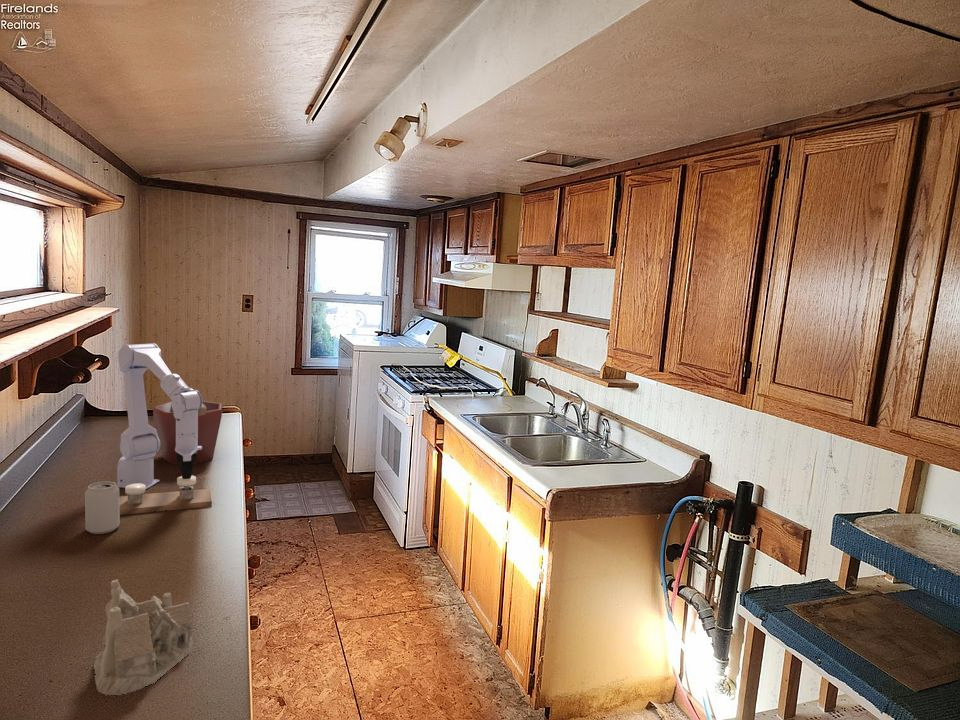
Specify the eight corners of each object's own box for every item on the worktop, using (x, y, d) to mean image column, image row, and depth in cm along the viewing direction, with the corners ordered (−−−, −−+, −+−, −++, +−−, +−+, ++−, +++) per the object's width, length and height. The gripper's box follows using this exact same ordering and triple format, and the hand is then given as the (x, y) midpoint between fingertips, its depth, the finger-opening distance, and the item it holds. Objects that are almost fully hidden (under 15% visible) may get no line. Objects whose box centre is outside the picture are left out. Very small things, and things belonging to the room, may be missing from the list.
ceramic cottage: (87, 702, 96) (93, 609, 95) (97, 647, 111) (103, 567, 110) (196, 684, 103) (203, 598, 102) (192, 635, 118) (198, 559, 117)
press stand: (106, 516, 166) (106, 501, 165) (110, 501, 175) (110, 488, 175) (211, 506, 177) (211, 492, 177) (209, 493, 187) (209, 480, 186)
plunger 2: (176, 495, 175) (176, 481, 175) (176, 489, 180) (176, 476, 179) (196, 493, 178) (196, 480, 177) (195, 488, 182) (195, 474, 182)
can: (126, 527, 160) (126, 482, 158) (100, 537, 153) (99, 491, 151) (105, 521, 162) (104, 477, 161) (78, 531, 155) (77, 486, 154)
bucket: (220, 466, 213) (221, 395, 210) (148, 469, 205) (148, 396, 202) (221, 446, 235) (222, 382, 232) (157, 449, 227) (157, 382, 224)
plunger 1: (124, 504, 170) (124, 490, 169) (125, 498, 174) (125, 484, 174) (145, 502, 172) (145, 488, 172) (145, 496, 177) (145, 482, 176)
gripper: (203, 438, 172) (202, 484, 174) (201, 426, 185) (200, 469, 186) (174, 439, 169) (174, 487, 170) (175, 427, 182) (174, 471, 183)
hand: (186, 478), depth 178 cm, fingers closed, pressing on plunger 2
